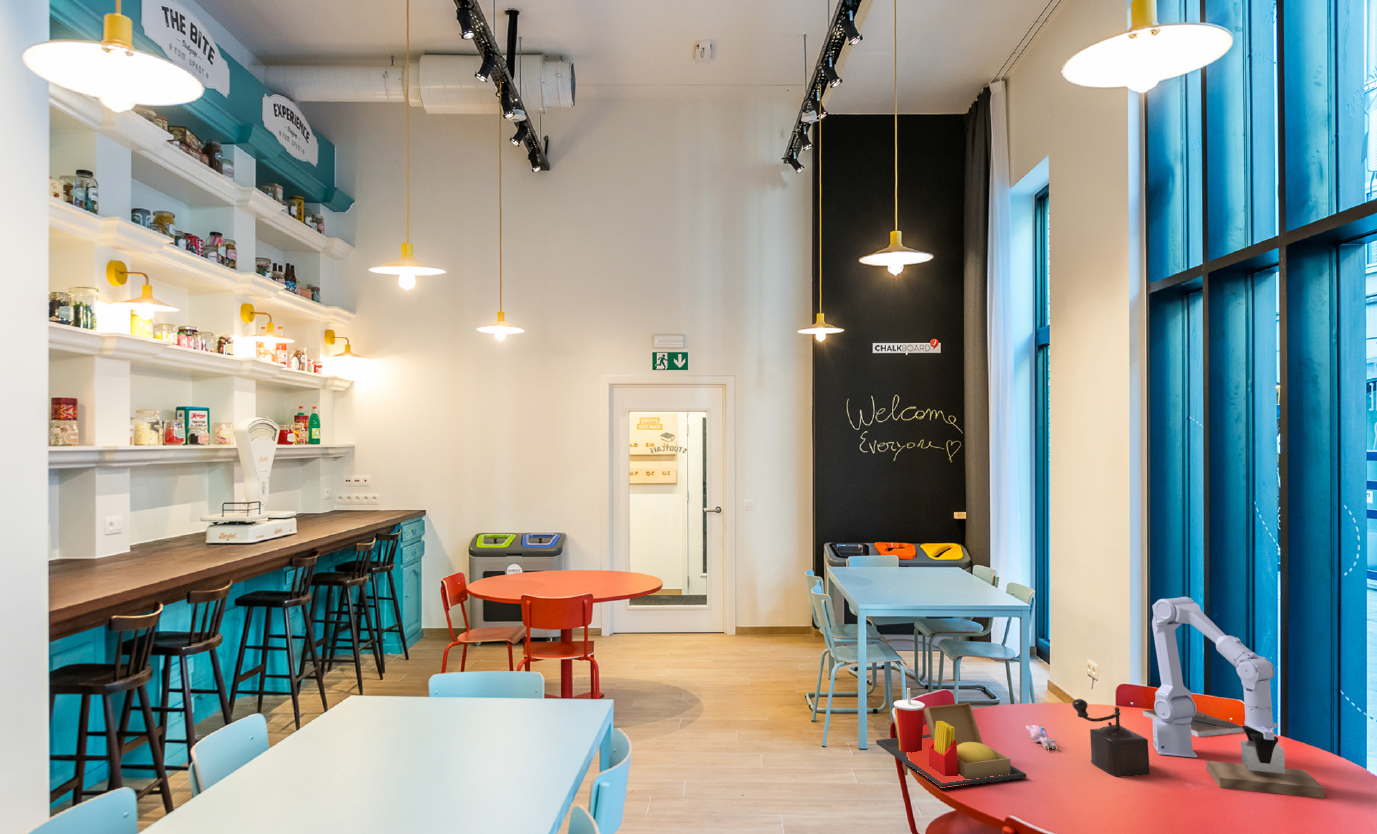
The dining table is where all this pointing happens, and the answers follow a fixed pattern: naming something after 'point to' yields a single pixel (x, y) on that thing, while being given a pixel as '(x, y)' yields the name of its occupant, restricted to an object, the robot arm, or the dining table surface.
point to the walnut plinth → (1264, 780)
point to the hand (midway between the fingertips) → (1261, 759)
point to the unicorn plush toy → (1041, 736)
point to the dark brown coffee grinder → (1115, 746)
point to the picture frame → (1204, 724)
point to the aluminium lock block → (1252, 760)
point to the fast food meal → (947, 743)
